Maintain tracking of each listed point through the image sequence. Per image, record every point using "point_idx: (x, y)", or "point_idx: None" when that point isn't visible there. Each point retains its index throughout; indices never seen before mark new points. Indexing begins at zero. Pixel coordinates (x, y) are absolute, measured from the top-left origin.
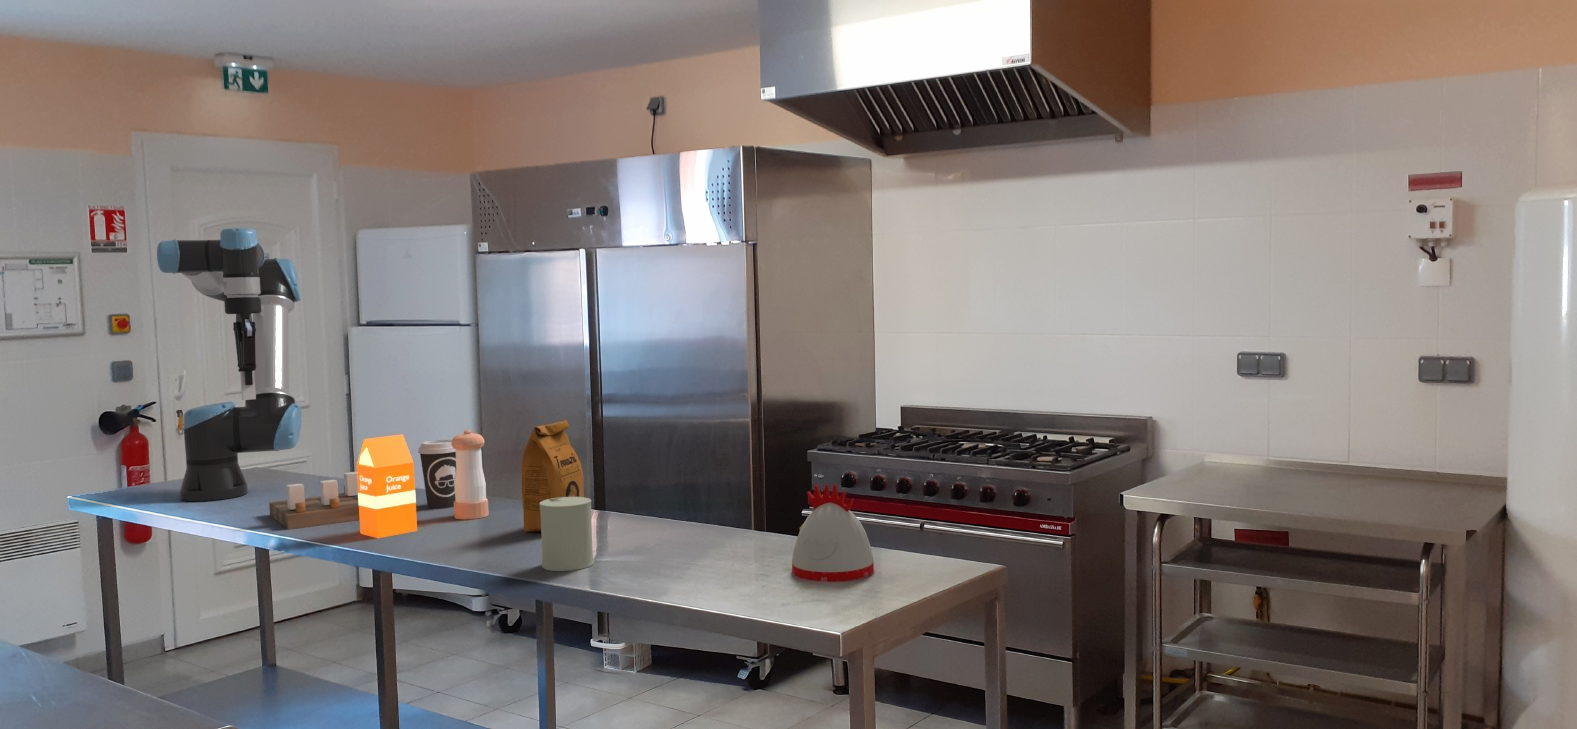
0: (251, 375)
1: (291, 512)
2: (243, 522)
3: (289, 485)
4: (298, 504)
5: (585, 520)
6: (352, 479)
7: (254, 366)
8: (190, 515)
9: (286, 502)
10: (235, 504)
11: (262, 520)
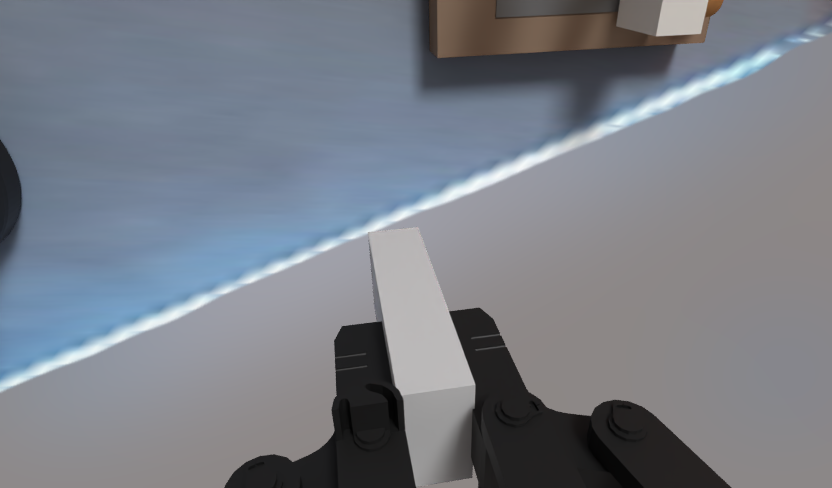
0: (517, 373)
1: None
2: (483, 128)
3: (671, 27)
4: (717, 8)
5: None
6: None
7: (650, 423)
8: (271, 240)
9: (482, 7)
10: (138, 122)
11: (493, 80)
